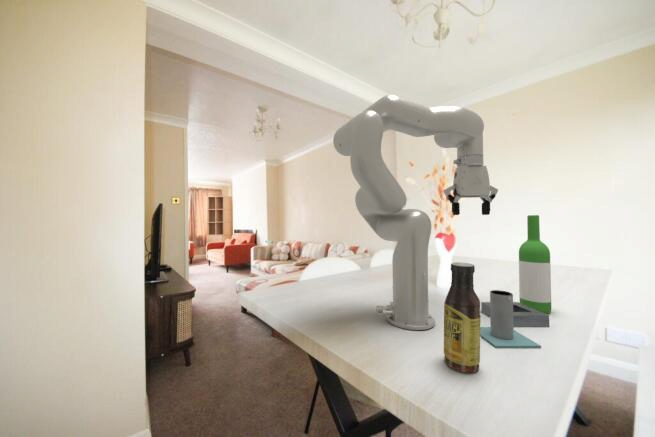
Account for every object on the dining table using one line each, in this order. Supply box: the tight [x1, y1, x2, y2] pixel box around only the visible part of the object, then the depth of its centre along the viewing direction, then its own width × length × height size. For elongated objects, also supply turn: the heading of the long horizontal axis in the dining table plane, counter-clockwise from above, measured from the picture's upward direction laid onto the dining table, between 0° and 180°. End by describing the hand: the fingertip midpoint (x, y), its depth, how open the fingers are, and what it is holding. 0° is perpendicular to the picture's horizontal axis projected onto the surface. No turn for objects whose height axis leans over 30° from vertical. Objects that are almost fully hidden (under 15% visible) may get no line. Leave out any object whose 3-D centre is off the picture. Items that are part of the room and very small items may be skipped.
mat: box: [480, 326, 542, 349], centre depth 60 cm, size 10×10×1 cm
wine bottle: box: [518, 214, 552, 315], centre depth 79 cm, size 8×8×30 cm
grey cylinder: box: [489, 289, 514, 340], centre depth 61 cm, size 4×4×10 cm
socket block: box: [480, 301, 550, 328], centre depth 72 cm, size 11×11×3 cm
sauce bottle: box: [443, 261, 481, 374], centre depth 49 cm, size 7×6×20 cm
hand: (470, 214), depth 83 cm, fingers open, 9 cm apart
